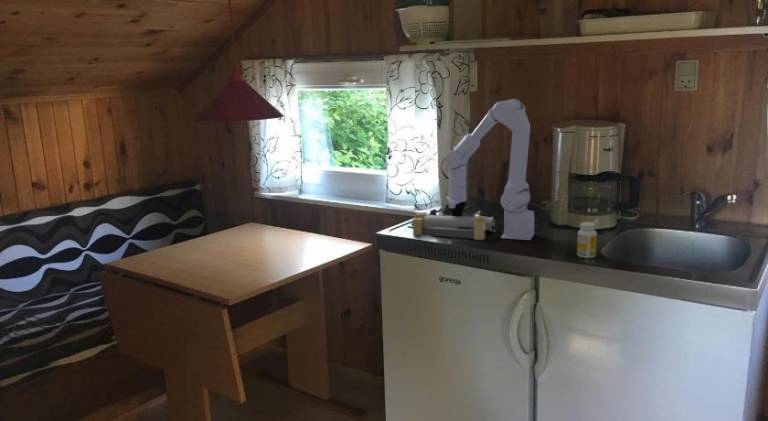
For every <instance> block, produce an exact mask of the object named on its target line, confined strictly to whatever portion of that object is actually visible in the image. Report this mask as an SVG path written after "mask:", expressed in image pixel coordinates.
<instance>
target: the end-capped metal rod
mask: <svg viewBox="0 0 768 421" xmlns="http://www.w3.org/2000/svg"><path fill="white" fill-rule="evenodd" d="M427 215H428V214H427V212H420V211H419V212H416V213H415V217H414V218H413V219H412V230H413V232H412V234H413V236H421V237H422V236H424V235H423V227H424V217H426V216H427ZM476 217H477V218H476V222H475V223H474V239H473V240H476V241H484V240H485V239H486V232H485V221H486V220H487V217H488V216H486V215H485V216H483V215H478V216H476Z"/></svg>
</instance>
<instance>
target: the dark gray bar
mask: <svg viewBox="0 0 768 421" xmlns="http://www.w3.org/2000/svg"><path fill="white" fill-rule="evenodd" d="M422 236H433V237H446V238H448V237H449V238H457V239H459V238H462V239H473V240H474V229H459V228H444V227H429V226H424V227H423V235H422Z"/></svg>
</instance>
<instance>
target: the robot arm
mask: <svg viewBox="0 0 768 421" xmlns="http://www.w3.org/2000/svg"><path fill="white" fill-rule="evenodd" d="M499 123H500V124H502V125H504V126H506V127H507V128H508V129H509V131H511V132H512V133H511V134H512V135H511V146H510V147H511V148H510V155H509V157H510V158H509V169H508V178H507V179H508V180H507V182H506V185H505V186H504V191H503V194H502V195H501V198H500V205H501V206H502V209H504V210H503V211H504V213H503V215H504V216H503V218H504V219H503V220H504V224H503V225H504V226H503V230H504V231H503V233H502V235H501V236H500V238H501V239H506V240H507V239H508V240H509V239H510V240H519V241H520V240H521V241H522V240H523V241H531V240H532V238H533V237H534V235H535V211H534V210H529V209H528V204H529V202H530V201H531V193H530V188H529V183H528V182H527V181H526V180H527V179H526V178H527V166H528V157H529V156H528V155H529V146H530V145H529V144H530V136H531V123H530V122H529V118H528V116H527V113H526V106H525V105H524V104H523V103H522V102H521V101H520V100H519V99H517V98H510V99H508V100H502V101H501V100H500V101H497V102H495V103H494V104H493V106H492V107H491V108H490V109H488V111H487V113H486V115H484V117H483V119H481V121H480V123H479V124H478V125H477V126H476V127H475V128H474V130H473V132H472V133H467V134H464V135H462V136H461V141H459V142H458V144H457V145H454V147H453V150H451V151H450V150H449V151H447V154H446V155H445V158H444V161H445V162H444V163H445V164H446V166H447V168H448V196H446V197H445V200H446V201H448V205H447V206H448V209H449V210H450V212H451V216H464V213H465V209H466V208H467V205H468V203H467V202H466V201H467V200H468V199H467V187H466V186H467V184H466V182H467V181H466V177H467V176H466V174H467V173H466V170H467V164H468V163H469V160H470V157H471V156H472V155H473V154H474V153H475V152H476V151H477V149H479V147H480V146H481V140H482V139H483V137H484V136H485V135H486V134H487V133H488V132H489V131H490V130H491V129H492V128H493V127H494V126H495V125H496V124H499Z"/></svg>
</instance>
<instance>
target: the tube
mask: <svg viewBox="0 0 768 421" xmlns="http://www.w3.org/2000/svg"><path fill="white" fill-rule="evenodd" d="M477 217H478V216H466V215H465V216H464V215H463V216H453V215H442V214H441V215H435V214H427V216H426V217H424V226H429V227H444V228H457V227H470V228H474V223H475V222H476V218H477ZM491 226H494V227H495V219H494V216H491V217H490V216H487V220H486V221H485V230H490V231H492V227H491Z"/></svg>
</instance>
